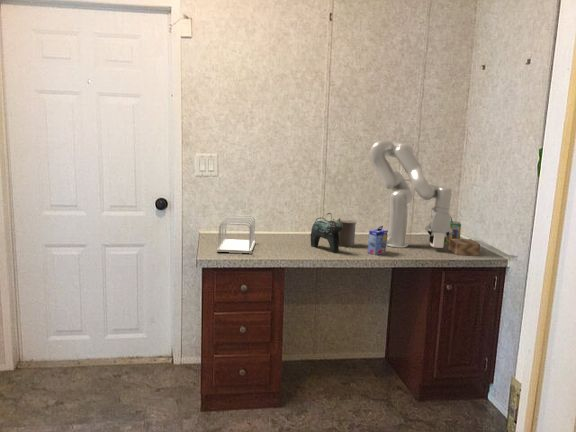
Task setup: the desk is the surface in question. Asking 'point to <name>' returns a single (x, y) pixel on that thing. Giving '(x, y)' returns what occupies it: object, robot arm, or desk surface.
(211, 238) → the desk surface
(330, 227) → the animal figurine
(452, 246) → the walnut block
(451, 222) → the chalk box
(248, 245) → the file sorter
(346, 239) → the pillar candle
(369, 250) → the ink cartridge box
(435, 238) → the white rectangular block
